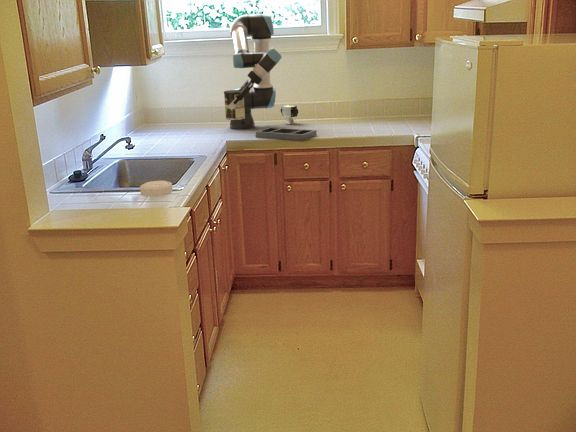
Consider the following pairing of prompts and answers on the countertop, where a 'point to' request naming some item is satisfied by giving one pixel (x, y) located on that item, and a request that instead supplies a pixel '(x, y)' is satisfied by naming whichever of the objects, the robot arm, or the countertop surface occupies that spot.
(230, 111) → the coffee can
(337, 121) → the countertop surface
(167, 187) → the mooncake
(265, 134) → the gray compartment tray
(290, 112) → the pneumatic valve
